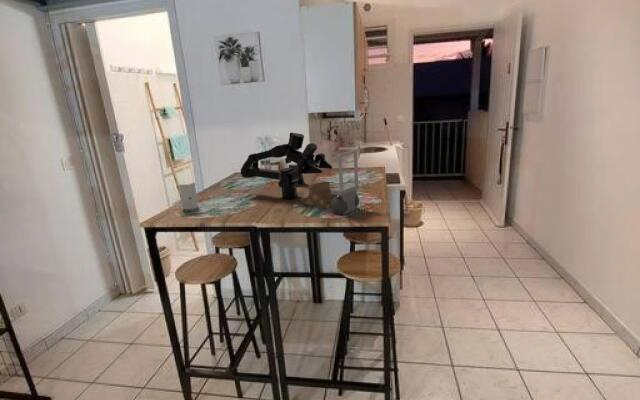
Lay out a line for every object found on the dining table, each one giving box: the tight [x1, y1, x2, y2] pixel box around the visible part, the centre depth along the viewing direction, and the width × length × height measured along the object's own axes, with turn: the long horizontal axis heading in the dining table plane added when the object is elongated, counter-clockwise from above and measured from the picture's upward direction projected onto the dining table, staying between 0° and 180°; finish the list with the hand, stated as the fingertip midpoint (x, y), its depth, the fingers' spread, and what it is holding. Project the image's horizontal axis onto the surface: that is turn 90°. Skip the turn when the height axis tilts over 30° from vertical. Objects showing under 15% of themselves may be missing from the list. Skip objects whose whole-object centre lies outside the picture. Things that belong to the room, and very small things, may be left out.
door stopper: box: [288, 163, 306, 188], centre depth 194 cm, size 9×6×12 cm, turn 146°
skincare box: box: [178, 181, 199, 210], centre depth 162 cm, size 6×4×12 cm
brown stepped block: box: [300, 180, 338, 210], centre depth 155 cm, size 16×10×9 cm, turn 50°
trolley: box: [330, 149, 360, 216], centre depth 140 cm, size 7×12×25 cm, turn 140°
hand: (327, 169), depth 154 cm, fingers open, 9 cm apart
